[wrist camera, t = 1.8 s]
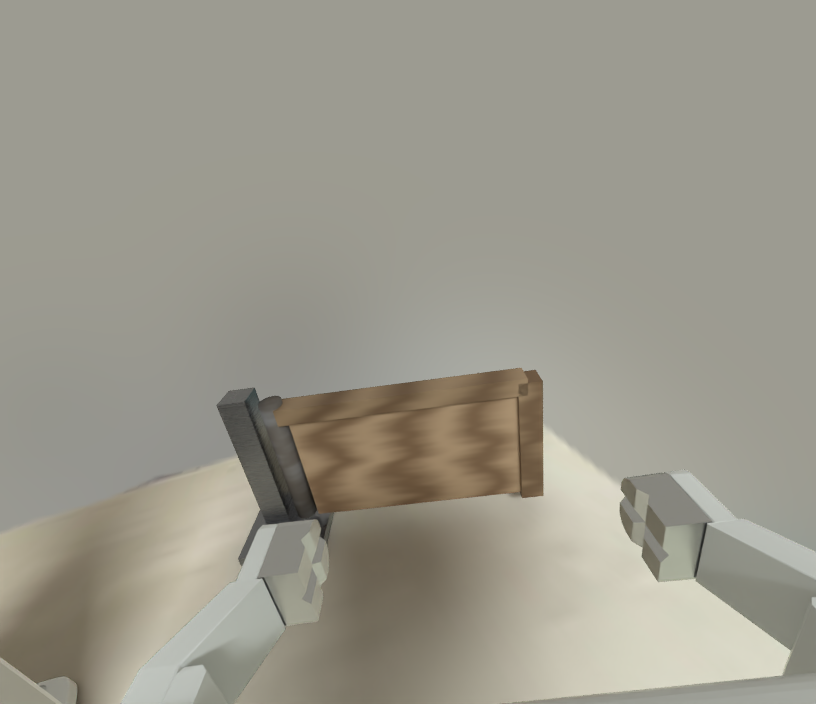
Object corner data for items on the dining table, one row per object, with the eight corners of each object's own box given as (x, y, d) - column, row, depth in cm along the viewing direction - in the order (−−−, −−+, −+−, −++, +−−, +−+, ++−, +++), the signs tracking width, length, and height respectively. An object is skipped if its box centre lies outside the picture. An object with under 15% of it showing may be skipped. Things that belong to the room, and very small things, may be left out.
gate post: (241, 566, 36) (174, 428, 30) (269, 501, 43) (220, 379, 37) (323, 557, 36) (273, 415, 29) (338, 493, 43) (300, 368, 36)
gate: (296, 522, 38) (254, 409, 32) (301, 506, 40) (262, 397, 34) (543, 495, 36) (542, 372, 31) (537, 480, 38) (535, 361, 33)
